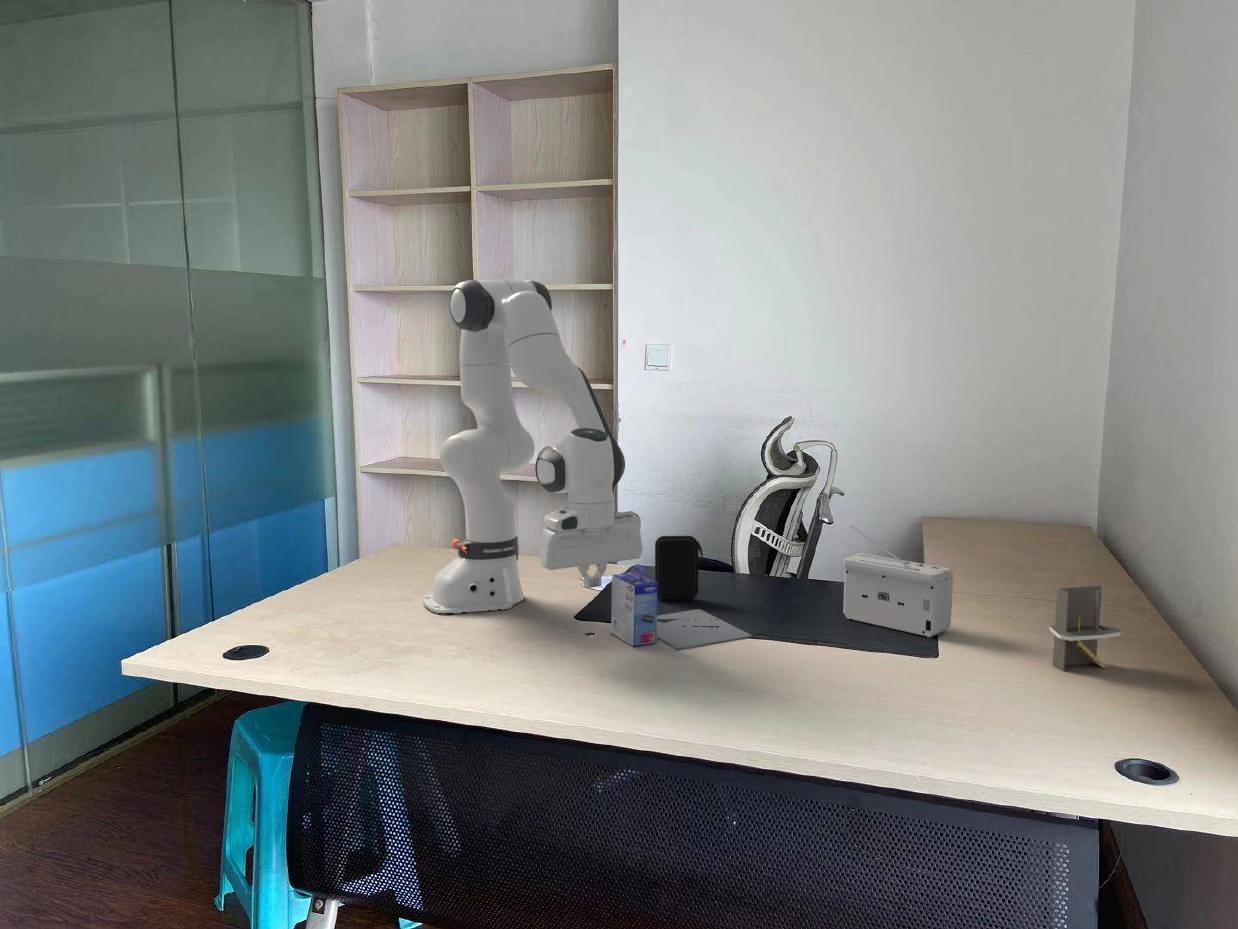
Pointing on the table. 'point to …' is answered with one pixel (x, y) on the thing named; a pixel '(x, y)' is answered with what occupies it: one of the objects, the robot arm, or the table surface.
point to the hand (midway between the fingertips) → (592, 586)
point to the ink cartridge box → (634, 608)
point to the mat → (695, 630)
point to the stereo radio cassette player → (897, 593)
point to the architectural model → (1079, 626)
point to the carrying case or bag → (677, 567)
